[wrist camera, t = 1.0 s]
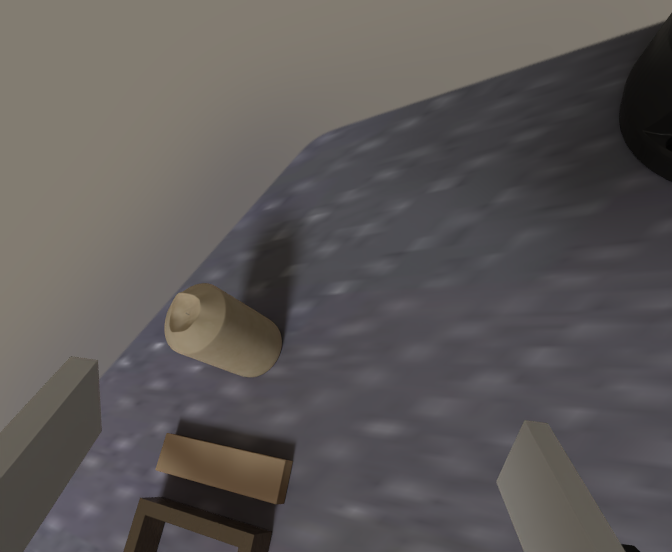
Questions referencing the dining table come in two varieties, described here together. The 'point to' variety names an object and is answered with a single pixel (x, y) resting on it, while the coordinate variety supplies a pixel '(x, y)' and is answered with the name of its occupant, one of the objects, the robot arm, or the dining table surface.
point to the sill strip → (226, 467)
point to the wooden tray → (190, 526)
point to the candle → (222, 331)
